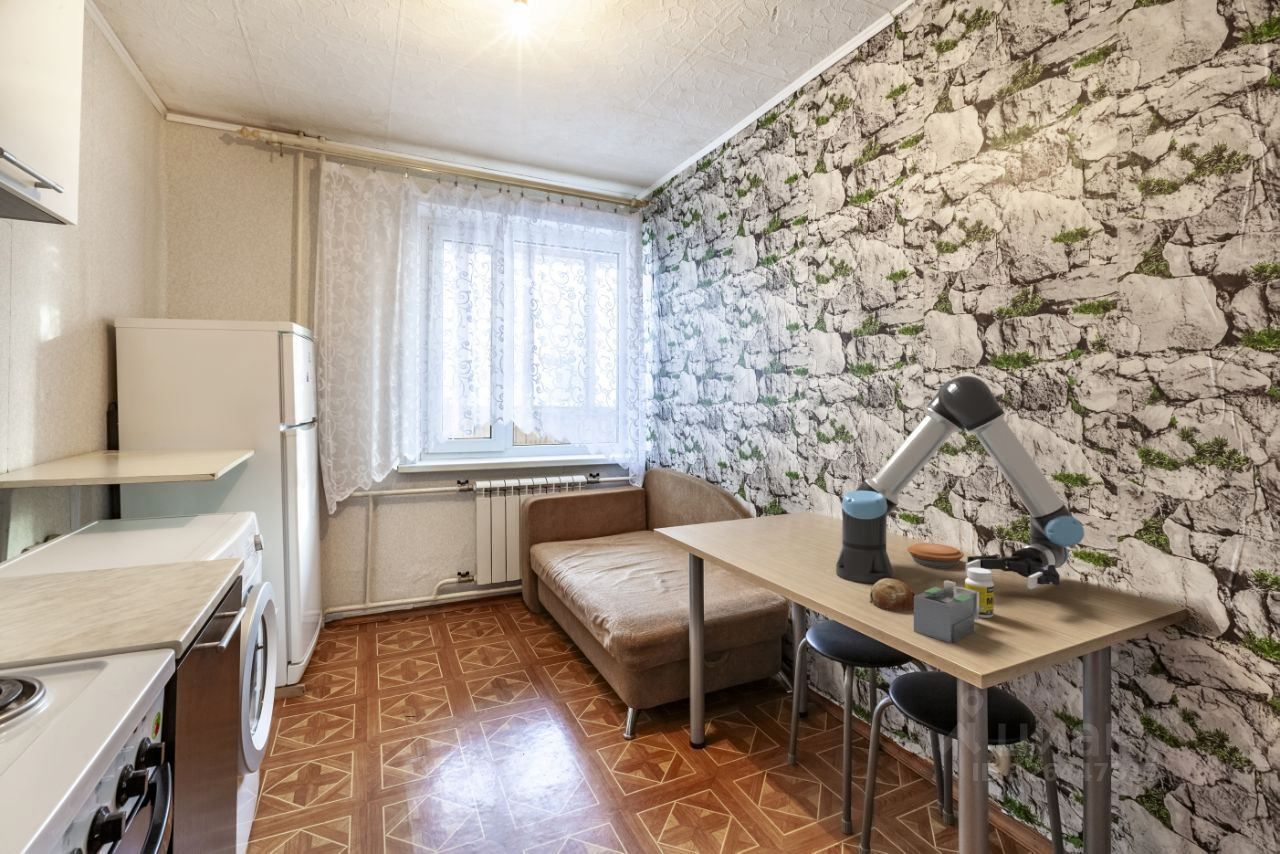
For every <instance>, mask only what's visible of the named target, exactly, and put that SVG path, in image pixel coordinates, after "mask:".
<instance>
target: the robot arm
mask: <svg viewBox="0 0 1280 854" xmlns="http://www.w3.org/2000/svg"><path fill="white" fill-rule="evenodd" d="M1005 414H1006V413H1005V411H1004V410H1003V408H1002V407H1001V405H1000V403H999V402H998V400H997V399H996V397H995V396H994V394H993V392H992V391H991V389H990V387H989V386H988V384H987V383H986V382H985V381H983V380H982V379H980V378H978V377H975V376H972V375H970V376H969V375H963V376H962V375H961V376H958V377H955V378H951V379H949V380H947V381H946V382H945V383H944V384H942V386H941V387H940V388H939V390H938V391H937V393H936V394H935V395H934V397H933V398H932V399H931V401H930V402H929V403H928V404H927V405H926V406H925V416H924V417H923V419H921V421H920V422H918V423H919V424H917V426H916V427H915V428H913V431H912V432H910V434H909V435H908V436H907V437H906V438H905V440H903V442H902V443H901V444H900V446H899V447H898V448H897V449H896V451H895V452H894V453H893V454H892V455H891V456H890V457H889V459H888V460H887V461H886V462H885V463H884V465H882V467H881V468H880V469H879V471H877V473H876V474H875V475H874V476H873V477H871V478H865V479H864V480H863V481H862V483H860V484H859V486H858V487H857V488H856V489H855V490H852V491H848V492H846V493H845V494H843V497H842V502H841V508H842V537H841V538H842V541H841V542H842V544H841V545H842V546H841V550H840V553H839V556H838V558H837V562H836V564H835V574H836V575H837V576H838V577H840V578H843V579H846V580H848V581H852V582H859V583H865V584H875V583H876V582H878V581H879V580H881V579H885V578H889V579H894V570H893V566H892V563H891V561H890V557H889V554H888V552H887V518H888V517H889V515H890V514H891V513H892V512H893V511H894V510H895V508H896V507H898V505H899V495H900V494H901V493H902V492H903V491H904V489H906V487H907V486H908V485H909V484H910V483H911V481H912V480H913V479H914V478H915V477H916V476H917V474H918V473H919V472H920V471H921V470H922V469H923V467H925V466H926V464H927V463H928V462H929V461H930V460H931V458H933V456H934V455H935V454H936V453H937V451H938V450H940V448H942V446H943V445H944V444H945V442H946V441H947V440H948V439H949V438H950V437H951V435H952V434H955V433H962V432H963V431H964V429H966V431H967V433H971V434H974V435H975V436H976V438H977V439H978V441H979V442H980V444H981V445H982V447H983V449H985V451H986V453H987V454H988V455H989V457H990V458H991V459H992V461H993V462H994V464H995V466H996V467H997V468H998V470H999V471H1000V472H1001V473H1002V475H1003V477H1004V478H1005V480H1006V482H1007V483H1008V484H1009V485H1010V486H1011V488H1012V490H1013V491H1014V492H1015V494H1016V495H1017V496H1018V498H1019V500H1020V501H1021V502H1022V504H1023V505H1024V507H1025V508H1026V509H1027V510H1028V513H1030V514H1029V515H1030V516H1029V518H1030V520H1029V521H1030V522H1029V524H1030V525H1029V528H1030V529H1029V530H1030V531H1029V533H1030V535H1029V545H1028V546H1025V547H1022V548H1020V549H1017V550H1016V551H1014V552H1013V553H1012V555H1011V556H1001V555H1000V554H998V553H996V554H991V555H989V554H988V555H973V556H970V555H969V556H967V562H966V563H965V575H966V576H967V569H968V568H983V569H987V570H1001V571H1002V572H1013V573H1016V574H1018V575H1019V576H1021V577H1023V578H1026V579H1027V589H1030V590H1032V589H1035V588H1037V587H1039V586H1044V585H1049V584H1050V583H1051V584H1053V586H1056V587H1058V586H1060V578H1061V576H1060V574H1059V572H1058V571H1057V569H1059V568H1061V567H1062V566H1063V565H1064V564H1065V563H1066V562H1067V561H1068V559H1069V557H1070V553H1069V552H1070V551H1069V549H1068V547H1074V546H1076V545H1078V544H1080V543H1081V542H1082V540H1084V536H1085V529H1084V526H1083V525H1082V524H1081V522H1080V521H1079V520H1078V519H1077V518H1075V517H1074V516H1073V515H1072V513H1071V512H1070V510H1069V509H1068V507H1067V506H1066V505H1065V501H1064V500H1062V499H1061V497H1060V496H1059V495H1058V494H1057V492H1056V490H1055V489H1054V488H1053V487H1052V485H1051V483H1050V482H1049V481H1048V480H1047V478H1046V477H1045V475H1044V474H1043V472H1042V471H1041V469H1040V468H1039V467H1038V465H1037V464H1036V462H1035V461H1034V459H1032V457H1031V455H1030V454H1029V452H1028V451H1027V450H1026V449H1025V446H1023V444H1022V443H1021V441H1020V440H1019V438H1018V437H1017V436H1016V434H1015V433H1014V432H1013V430H1012V428H1010V425H1008V423H1007V422H1006V420H1005V416H1006V415H1005Z"/></svg>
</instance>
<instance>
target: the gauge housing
mask: <svg viewBox="0 0 1280 854" xmlns="http://www.w3.org/2000/svg"><path fill="white" fill-rule="evenodd" d="M942 599H944V588H940V587H936V586H934V587H932V588H929V589H927V590H924V592H922V593H919V594H917V595H915V596H914V606H913V632H914V631H915V633H917V632H918V634H921V635H924V636H927V637H931V638H933V639H936V640H939V641H942V642H945V643H949V644H952V643H955V642H957V640H958V641H959V640H961V639H964V638H965V637H967V636H969V635H970V633H971V634H972V632H973V633H974V632H975V619H974V615H973V600H974V597H973V596H969V595H965V594H963V595H960V596H958V597H956V598H954V599H953V600H952V601H950V602H948V603H941V602H939V600H942ZM968 634H969V635H968Z"/></svg>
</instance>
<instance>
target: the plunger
mask: <svg viewBox="0 0 1280 854" xmlns="http://www.w3.org/2000/svg"><path fill="white" fill-rule="evenodd" d="M956 583H957V582H955V581H951V580H948V579H946V580H943V589H944V599H942V600H939V602H941V603H948V602H950V601H952V600H953V599H954V598H956V597H958V596H960V595H963V594H965V595H969V596H973V597H974V600H973V615H974V621H975V620H976V621H977V620H979V619H980V617H979V592H978V591H974V590H970V589H966V588H965V587H962V586H957V584H956Z"/></svg>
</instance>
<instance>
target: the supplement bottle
mask: <svg viewBox="0 0 1280 854" xmlns="http://www.w3.org/2000/svg"><path fill="white" fill-rule="evenodd" d="M966 576H967V577H966V578H965V580H964V588H966V589H970V590H974V591H978V592H979V619H980V618H981V619H982V618H983V619H990V618H992V617H994V608H995V607H994V606H995V605H994V603H995V601H994V600H995V598H994V597H995V595H994V594H995V592H994V591H995V584H994V582H993V581H992V580H993V579H992V578H993V572H992V570H991V569H983V568H968V569H967V575H966Z"/></svg>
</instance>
